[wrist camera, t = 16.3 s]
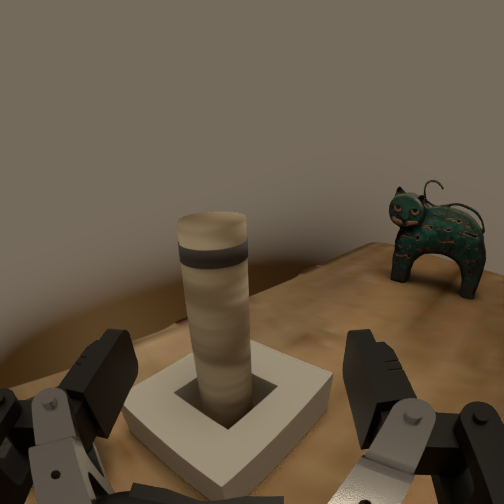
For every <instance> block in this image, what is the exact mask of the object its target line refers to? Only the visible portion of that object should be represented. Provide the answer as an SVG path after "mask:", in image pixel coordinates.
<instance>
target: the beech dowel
mask: <svg viewBox="0 0 504 504" xmlns="http://www.w3.org/2000/svg"><path fill="white" fill-rule="evenodd" d="M177 229H178V239H179V241H178V247H179V256H180V262H181V267H182V276H183V284H184V293H185V300H186V308H187V315H188V322H189V329H190V336H191V343H192V349H193V355H194V361H195V367H196V373H197V379H198V385H199V390H200V396H201V401H202V406H203V411H204V415H206V416H207V417H209V418H210V419H212V420H213V421H215V422H216V423H218V424H220V425H221V426H223V427H224V428H226V429H227V430H229V429H230V428H231V427H232V426H233V425H235V424H236V423H237V422H238V421H239V420H241V419H242V418H243V417H244V416H245V415H246V414H248V413H249V412H250V411H251V410H252V409H253V396H252V371H251V344H250V318H249V292H248V291H249V290H248V262H247V257H248V240H247V235H246V234H247V233H246V216H245V215H243V214H240V213H235V212H224V211H221V212H220V211H219V212H218V211H217V212H203V213H197V214H192V215H188V216H185V217H182V218H180V219H179V220H178V221H177Z"/></svg>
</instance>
